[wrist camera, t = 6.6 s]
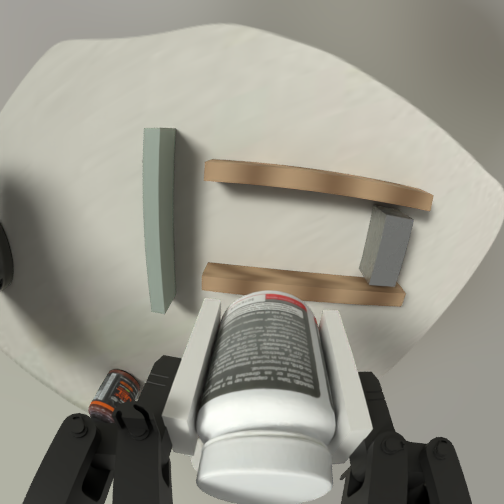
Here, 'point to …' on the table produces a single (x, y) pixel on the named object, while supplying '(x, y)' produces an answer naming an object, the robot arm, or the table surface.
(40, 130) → the table surface
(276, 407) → the pill bottle
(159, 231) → the door edge rail
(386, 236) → the tall gray brick
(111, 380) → the supplement bottle
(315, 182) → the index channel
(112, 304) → the table surface
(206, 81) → the table surface
